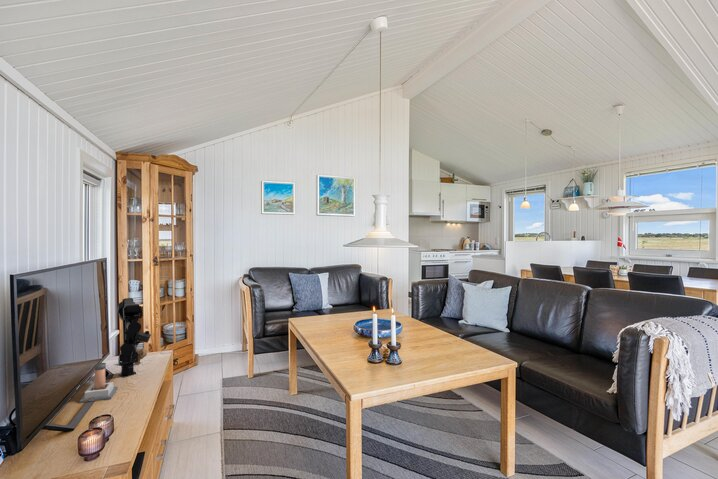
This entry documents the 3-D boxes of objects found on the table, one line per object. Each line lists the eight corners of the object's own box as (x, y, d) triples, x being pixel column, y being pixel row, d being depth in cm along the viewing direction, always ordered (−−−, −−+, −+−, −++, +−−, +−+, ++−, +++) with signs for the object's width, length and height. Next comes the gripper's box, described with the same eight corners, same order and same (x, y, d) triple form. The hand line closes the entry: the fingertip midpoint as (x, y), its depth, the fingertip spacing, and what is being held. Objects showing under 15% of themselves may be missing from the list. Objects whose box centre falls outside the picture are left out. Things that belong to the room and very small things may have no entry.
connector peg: (95, 392, 170) (96, 363, 170) (106, 390, 171) (106, 362, 171) (93, 395, 166) (93, 366, 166) (103, 394, 168) (104, 365, 167)
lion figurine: (148, 362, 213) (149, 347, 213) (144, 365, 208) (144, 350, 208) (122, 362, 211) (123, 347, 211) (118, 365, 206) (118, 350, 206)
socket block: (88, 392, 172) (88, 383, 172) (117, 388, 176) (117, 380, 176) (79, 403, 161) (79, 394, 161) (110, 399, 165) (111, 390, 165)
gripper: (146, 332, 176) (145, 363, 177) (152, 323, 194) (152, 351, 194) (120, 334, 172) (119, 365, 173) (129, 324, 190) (128, 353, 190)
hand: (131, 358), depth 182 cm, fingers open, 9 cm apart
